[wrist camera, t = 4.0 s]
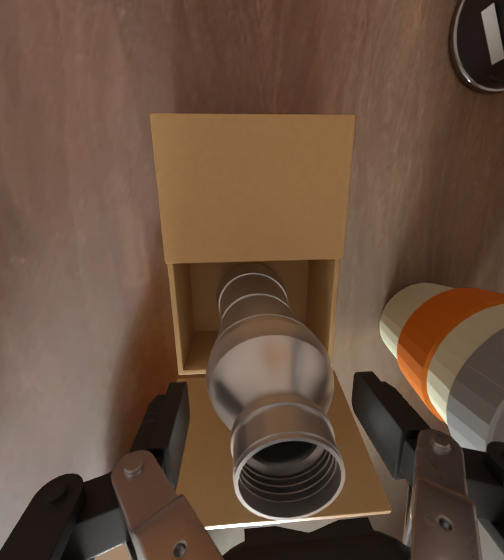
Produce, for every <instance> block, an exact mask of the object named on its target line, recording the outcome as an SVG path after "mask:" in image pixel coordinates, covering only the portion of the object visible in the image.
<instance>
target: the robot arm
mask: <svg viewBox="0 0 504 560" xmlns="http://www.w3.org/2000/svg"><path fill="white" fill-rule="evenodd" d="M449 52H450V58H451V62H452V65H453V67H454V70H455V72H456V74H457V75H458V77H459V78H460V80H461V81H462V82H463V83H464V84H465V85H467V86H468V87H469V88H471V89H473V90H475V91H477V92H480V93H486V94H494V93H500V92H503V91H504V0H459V2H458V4H457V6H456V9H455V11H454V14H453V17H452V21H451V26H450V32H449ZM352 406H353V410H354V412H355V414H356V416H357V418H358V420H359V421H360V423H361V425H362V426H363V428H364V430H365V431H366V433H367V435H368V436H369V438H370V440H371V442H372V443H373V445H374V447H375V448H376V450H377V452H378V453H379V455H380V457H381V458H382V460H383V462H384V464H385V465H386V467H387V469H388V470H389V472H390V474H391V475H392V477H393V479H394V480H400V479H406V481H407V482H408V484H409V486H408V492H407V502H406V513H405V523H404V534H403V542H400V541H399V540H397V539H395V538H394V537H392V536H389V535H387V534H385V533H382V532H379V531H376V530H373V528H372V526H371V524H370V521H369V519H368V517H366V518H356V519H345V520H337V521H335V522H333V523H331V524H328V525H326V526H324V527H322V528H320V529H317V530H315V531H313V532H309V533H307V532H302V531H297V530H292V529H287V528H282V527H277V526H271V527H260V528H250V529H244V532H245V541H244V542H242V543H240V544H238V545H236V546H235V547H233V548H231V549H230V550H229V551H228V552H226V553H225V554H224V555H223V556H222V555H221V553H220V552H219V550H218V548H217V547H216V545H215V544H214V542H213V540H212V539H211V537H210V535H209V534H208V532H207V531H206V529H205V527H204V526H203V524H202V523H201V521H200V519H199V518H198V516H197V515H196V513H195V511H194V510H193V508H192V507H191V505H190V503H189V502H188V500H187V499H186V497H185V496H184V495H183V494H180V495H179V496H178V495H177V494H176V489H177V484H178V478H179V473H180V468H181V463H182V458H183V453H184V448H185V443H186V437H187V432H188V427H189V421H190V406H189V396H188V385H187V382H172V383H170V384H169V387H168V390H167V392H166V394H165V395H157V396H156V397H155V398H154V399H153V401H152V402H151V403H150V404H149V406H148V409H147V411H146V415H145V416H144V418H143V422H142V423H141V426H140V428H139V431H138V433H137V435H136V438H135V440H134V443H133V445H132V447H131V450H130V452H129V454H127V455H126V456H124V457H123V458H122V459H120V460H119V461H118V462H117V464H116V465H115V467H114V468H113V470H112V471H111V472H109V473H107V474H105V475H103V476H100V477H97V478H94V479H91V480H89V481H86V482H83V480H82V478H81V476H79V475H77V474H65V475H62V476H59V477H57V478H55V479H53V480H51V481H50V482H48V483H47V484H46V485H44V486H43V487H42V488H41V489H40V490H39V491H38V492H37V493H36V494H35V496H34V497H33V499H32V500H31V502H30V503H29V505H28V507H27V508H26V510H25V512H24V513H23V515H22V516H21V518H20V520H19V521H18V523H17V524H16V526H15V528H14V529H13V531H12V533H11V534H10V536H9V537H8V539H7V541H6V542H5V544H4V545H3V547H2V549H1V550H0V560H94V558H95V557H96V556H98V555H100V554H102V553H105V552H107V551H109V550H111V549H113V548H116V547H118V546H120V545H122V544H124V543H125V545H126V549H127V551H128V554H129V557H130V560H482V552H481V545H480V537H479V529H478V522H477V519H478V520H479V522H480V523H481V524H482V526H483V527H484V528H485V530H486V531H487V533H488V534H489V535H490V537H491V538H492V539H493V541H494V542H495V544H496V545H497V546H498V548H499V549H500V550H501V552H502V553H503V555H504V442H499V441H494V442H490V443H489V444H488V445H487V448H486V452H483V451H478V450H473V449H468V448H463V447H461V446H460V445H459V444H458V443H457V442H456V441H455V440H454V439H453V438H452V437H450V436H448V435H447V434H445V433H443V432H440V431H437V430H433V429H431V428H430V427H429V426H428V425H427V423H426V422H425V421H424V420H423V419H422V418H421V417H420V416H419V414H418V413H417V412H416V411H415V410H414V409H413V408H412V407H411V405H409V403H408V402H407V401H406V400H405V399H404V398H403V396H402V395H401V394H400V393H399V392H398V391H397V390H396V389H395V388H394V387H392V386H391V385H389V384H388V383H386V382H381V381H380V380H379V379H378V377H377V376H376V375H375V374H374V373H373V372H372V371H368V372H356V373H355V374H354V381H353V391H352Z"/></svg>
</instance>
